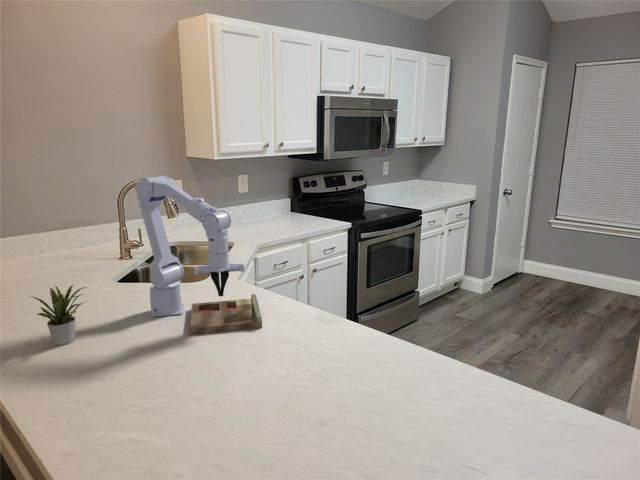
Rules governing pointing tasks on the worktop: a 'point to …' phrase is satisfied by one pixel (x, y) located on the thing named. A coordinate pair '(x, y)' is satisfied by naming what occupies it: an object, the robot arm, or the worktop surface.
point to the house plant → (61, 316)
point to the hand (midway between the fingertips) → (220, 295)
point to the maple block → (244, 308)
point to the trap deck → (222, 317)
